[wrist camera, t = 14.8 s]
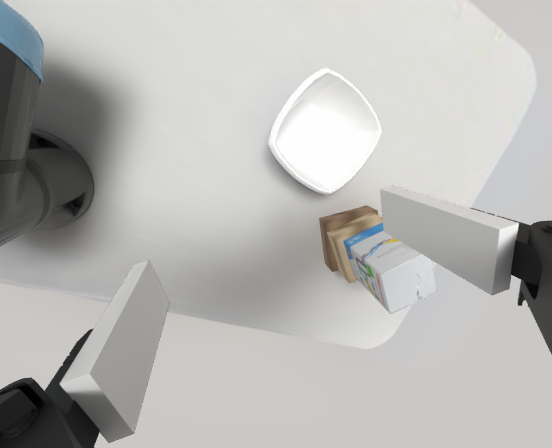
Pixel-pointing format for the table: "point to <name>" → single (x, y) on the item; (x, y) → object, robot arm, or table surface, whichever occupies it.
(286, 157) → the bowl
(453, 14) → the table surface
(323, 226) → the tower base
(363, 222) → the tower top
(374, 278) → the ink box
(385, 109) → the table surface
